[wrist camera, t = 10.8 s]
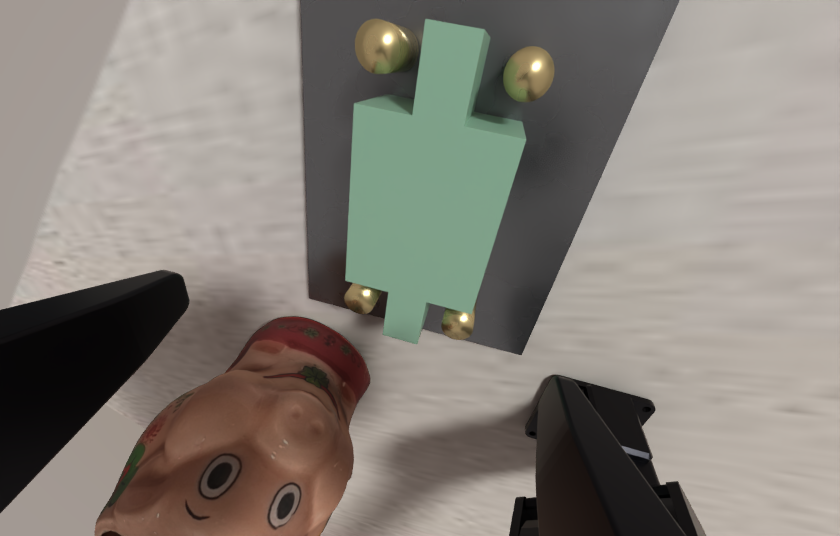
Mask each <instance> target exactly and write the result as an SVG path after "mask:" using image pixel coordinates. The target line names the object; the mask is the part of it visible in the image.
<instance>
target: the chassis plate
mask: <svg viewBox="0 0 840 536" xmlns="http://www.w3.org/2000/svg"><path fill="white" fill-rule="evenodd" d="M678 3H679V0H301V31H302V65H303V99H304V133H305V167H306V201H307V235H308V269H309V298H310V299H314V300H317V301H321V302H325V303H329V304H332V305H336V306H340V307H343V308H347V309H351V310H352V311H354V312H356V313H359V314H370V315H373V316H377V317H381V318H384V319H385V314H386V306H387V299H388V292H386V291H382V290H378V289H374V288H371V287H367V286H363V285H359V284H356V283H352V282H348V281H345V277H346V256H347V236H348V215H349V194H350V174H351V153H352V133H353V112H354V103H357V102H360V101H364V100H368V99H372V98H375V97H379V96H383V95H386V94H390V95H395V96H399V97H404V98H409V99H415V92H416V84H417V77H418V70H419V62H420V55H421V47H422V40H423V33H424V25H425V19H430V20H435V21H441V22H446V23H452V24H457V25H463V26H468V27H474V28H479V29H485V30H486V32H487V33H488V35H489V36H490V37H491V38H490V42H489V47H488V51H487V56H486V60H485V65H484V69H483V74H482V78H481V83H480V87H479V91H478V96H477V100H476V105H475V109H474V112H477V113H482V114H487V115H492V116H497V117H502V118H507V119H511V120H516V121H521V122H522V123H523V127H524V131H525V136H526V142H525V146H524V149H523V152H522V155H521V158H520V162H519V165H518V168H517V171H516V174H515V177H514V181H513V184H512V187H511V190H510V193H509V197H508V200H507V203H506V206H505V209H504V213H503V216H502V219H501V222H500V225H499V228H498V232H497V235H496V238H495V241H494V244H493V248H492V251H491V254H490V257H489V260H488V264H487V267H486V270H485V273H484V276H483V279H482V283H481V286H480V289H479V292H478V295H477V299H476V302H475V305H474V308H473V311H472V314H469V313H465V312H461V311H457V310H454V309H450V308H446V307H442V306H439V305H435V304H431V303H430V306H429V309H428V312H427V316H426V319H425V322H424V325H423V328H422V329H425V330H429V331H433V332H437V333H440V334H444V335H447V336H448V337H450V338H452V339H456V340H466V341H470V342H474V343H478V344H481V345H485V346H489V347H493V348H496V349H500V350H504V351H507V352H511V353H515V354H519V355H522V353H523V351H524V348H525V346H526V344H527V342H528V339H529V337H530V335H531V333H532V330H533V328H534V326H535V324H536V321H537V319H538V317H539V315H540V312H541V310H542V308H543V306H544V303H545V301H546V299H547V297H548V294H549V292H550V290H551V288H552V285H553V283H554V281H555V279H556V276H557V274H558V272H559V270H560V267H561V265H562V263H563V261H564V258H565V256H566V254H567V252H568V249H569V247H570V245H571V243H572V241H573V238H574V236H575V234H576V232H577V229H578V227H579V225H580V223H581V220H582V218H583V216H584V214H585V211H586V209H587V207H588V205H589V202H590V200H591V198H592V196H593V193H594V191H595V189H596V187H597V184H598V182H599V180H600V178H601V175H602V173H603V171H604V169H605V166H606V164H607V162H608V160H609V157H610V155H611V153H612V151H613V148H614V146H615V144H616V142H617V139H618V137H619V135H620V133H621V131H622V128H623V126H624V124H625V122H626V119H627V117H628V115H629V113H630V110H631V108H632V106H633V104H634V101H635V99H636V97H637V95H638V92H639V90H640V88H641V86H642V83H643V81H644V79H645V77H646V74H647V72H648V70H649V68H650V65H651V63H652V61H653V59H654V56H655V54H656V52H657V50H658V47H659V45H660V43H661V41H662V38H663V36H664V34H665V32H666V29H667V27H668V25H669V23H670V20H671V18H672V16H673V14H674V12H675V9H676V7H677V5H678Z"/></svg>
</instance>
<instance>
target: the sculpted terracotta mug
mask: <svg viewBox="0 0 840 536" xmlns="http://www.w3.org/2000/svg"><path fill="white" fill-rule="evenodd" d="M369 384H370V375H369V372H368V369H367V366H366V363H365V361H364V359H363V357H362V356H361V354H360V353H359V352H358V351H357V350H356V349H355V347H354V346H353V345H352V344H351V343H350V342H349V341H348V340H346V339H345V338H344V337H343V336H341V335H340V334H339V333H337V332H336V331H334V330H332V329H330V328H329V327H327V326H325V325H323V324H321V323H318V322H316V321H313V320H310V319H306V318H301V317H283V318H278V319H275V320H273V321H271V322H269V323H268V324H266V325H265V326H263V327H262V328H261V329H259V330H258V331H257V332H256V333H255V334H254V335H253V336H252V337H251V338H250V340H249V341H248V342H247V344H246V345H245V347H244V348H243V350H242V351H241V353H240V354H239V356H238V357H237V359H236V360H235V361H234V363H233V364H232V365H231V366H230V367H229V369H228V370H227V371H226V372H225V373H224V374H222V375H219V376H217V377H215V378H214V379H212V380H211V381H209V382H208V383H206V384H204V385H201V386H199V387H197V388H195V389H193V390H191V391H189V392H187V393H185V394H183V395H182V396H180V397H178V398H177V399H176V400H174V401H173V402H171V403H170V404H169V405H168V406H167V407H166V408H164V409H163V410H162V411H161V412H160V413H159V414H158V415H157V416H156V417H155V418H154V420H153V421H152V422H151V423H150V424H149V426H148V427H147V428H146V430H145V431H144V432H143V434H142V435H141V437H140V438H139V440H138V441H137V443H136V445H135V447H134V449H133V451H132V453H131V455H130V457H129V459H128V461H127V463H126V465H125V467H124V470H123V472H122V474H121V476H120V478H119V481H118V483H117V485H116V488H115V490H114V492H113V494H112V496H111V498H110V499H109V501H108V503H107V504H106V506H105V507H104V509H103V510H102V512H101V514H100V515H99V517H98V519H97V522H96V527H95V536H320V535H321V533H322V532H323V530H324V528H325V526H326V525H327V523H328V521H329V518H330V516H331V514H332V512H333V511H334V510H335V508H336V507H337V505H338V503H339V502H340V500H341V498H342V496H343V493H344V491H345V489H346V485H347V482H348V480H349V479H350V478H351V475H352V470H353V463H354V455H353V446H352V441H351V438H350V434H349V425H350V421H351V418H352V415H353V412H354V410H355V407H356V405H357V403H358V402H359V400H360V399H361V397H362V396H363V394H364V393H365V391H366V390H367V388H368V386H369Z"/></svg>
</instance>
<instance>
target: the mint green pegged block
mask: <svg viewBox="0 0 840 536" xmlns="http://www.w3.org/2000/svg"><path fill="white" fill-rule="evenodd" d="M490 38H491V37H490V36H489V35H488V33H487V32H486V30H485V29H479V28H474V27H468V26H463V25H457V24H452V23H446V22H441V21H435V20H430V19H425V25H424V33H423V40H422V47H421V55H420V62H419V70H418V77H417V84H416V92H415V99H409V98H404V97H399V96H395V95H390V94H386V95H383V96H379V97H375V98H372V99H368V100H364V101H360V102H357V103H354V112H353V133H352V153H351V174H350V194H349V215H348V236H347V256H346V277H345V281H348V282H352V283H356V284H359V285H363V286H367V287H371V288H374V289H378V290H382V291H386V292H388V299H387V306H386V314H385V321H384V329H383V335H385V336H389V337H392V338H396V339H400V340H403V341H407V342H410V343H414V344H418V340H419V337H420V334H421V331H422V328H423V325H424V322H425V319H426V316H427V312H428V309H429V306H430V303H431V304H435V305H439V306H442V307H446V308H450V309H454V310H457V311H461V312H465V313H469V314H472V311H473V308H474V305H475V302H476V299H477V295H478V292H479V289H480V286H481V283H482V279H483V276H484V273H485V270H486V267H487V264H488V260H489V257H490V254H491V251H492V248H493V244H494V241H495V238H496V235H497V232H498V228H499V225H500V222H501V219H502V216H503V213H504V209H505V206H506V203H507V200H508V197H509V193H510V190H511V187H512V184H513V181H514V177H515V174H516V171H517V168H518V165H519V162H520V158H521V155H522V152H523V149H524V146H525V142H526V136H525V131H524V127H523V123H522V122H521V121H516V120H511V119H507V118H502V117H497V116H492V115H487V114H482V113H477V112H474V109H475V105H476V100H477V96H478V91H479V87H480V83H481V78H482V74H483V69H484V65H485V60H486V56H487V51H488V47H489V42H490Z"/></svg>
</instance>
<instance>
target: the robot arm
mask: <svg viewBox="0 0 840 536" xmlns="http://www.w3.org/2000/svg"><path fill="white" fill-rule="evenodd" d="M188 306H189V297H188V293H187V290H186V286H185V282H184V279H183V277H182V276H181V275H180V274H178V273H175V272H171V271H167V270H160V271H156V272H152V273H148V274H143V275H139V276H135V277H131V278H127V279H123V280H119V281H115V282H111V283H107V284H103V285H99V286H95V287H91V288H87V289H83V290H79V291H75V292H71V293H67V294H63V295H59V296H55V297H51V298H47V299H43V300H39V301H35V302H30V303H26V304H22V305H18V306H14V307H10V308H6V309H2V310H0V513H1V512H2V511H3V510H4V509H5V508H6V507H7V506H8V505H9V504H10V503H11V502H12V500H13V499H14V498H15V497H16V496H17V495H18V494H19V493H20V492H21V491H22V490H23V489H24V488H25V487H26V486H27V485H28V484H29V483H30V482H31V481H32V480H33V479H34V477H35V476H36V475H37V474H38V473H39V472H40V471H41V470H42V469H43V468H44V467H45V466H46V465H47V464H48V463H49V462H50V461H51V459H53V458H54V457H55V455H56V454H57V453H58V452H59V451H60V450H61V449H62V448H63V447H64V446H65V445H66V444H67V443H68V442H69V441H70V440H71V439H72V438H73V437H74V436H75V435H76V434H77V432H78V431H79V430H80V429H81V428H82V427H83V426H84V425H85V424H86V423H87V422H88V421H89V420H90V419H91V418H92V417H93V416H94V415H95V414H96V413H97V411H99V409H100V408H101V407H102V406H103V405H104V404H105V403H106V402H107V401H108V400H109V399H110V398H111V397H112V396H113V395H114V394H115V393H116V392H117V391H118V390H119V389H120V387H121V386H122V385H123V384H124V383H125V382H126V381H127V380H128V379H129V378H130V377H131V376H132V375H133V374H134V373H135V372H136V371H137V370H138V369H139V367H140V366H141V365H142V364H143V363H144V362H145V361H146V360H147V359H148V357H149V356H150V355H151V354H152V353H153V351H154V350H155V349H156V348H157V346H158V345H159V344H160V343H161V341H162V340H163V339H164V337H165V336H166V335H167V334H168V332H169V331H170V330H171V329H172V327H173V326H174V325H175V324H176V322H177V321H178V320H179V319H180V317H181V316H182V315H183V314H184V312H185V311H186V310H187V308H188ZM654 412H655V406H654V404H653V402H652V401H651V400H648V399H645V398H641V397H638V396H634V395H630V394H626V393H623V392H619V391H615V390H612V389H608V388H604V387H601V386H597V385H593V384H590V383H586V382H582V381H579V380H575V379H571V378H567V377H564V376H553V377H552V378H551V380H550V382H549V384H548V385H547V387H546V389H545V391H544V393H543V395H542V396H541V399H540V401H539V403H538V405H537V407H536V408H535V410H534V412H533V414H532V416H531V418H530V420H529V421H528V423H527V425H526V427H525V433H526V435H527V436H528V437H531V438H534V439H537V449H536V497H533V498H526V497H516V499H515V505H514V511H513V516H512V522H511V528H510V534H509V536H706V534H705V532H704V530H703V528H702V526H701V524H700V522H699V520H698V518H697V516H696V514H695V513H694V511H693V509H692V507H691V505H690V503H689V501H688V499H687V497H686V496H685V494H684V492H683V490H682V488H681V486H680V484H679V482H678V481H675V482H666V485H660V483H659V480H658V477H657V474H656V472H655V469H654V466H653V463H652V461H651V459H652V458H653V457H652V453H651V450H650V448H649V445H648V442H647V439H646V437H645V434H644V431H643V429H642V426H643V425H644V423H645V422H646V421H647V420H648V419H649V418H650V416H651V415H652V414H653V413H654Z"/></svg>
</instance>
